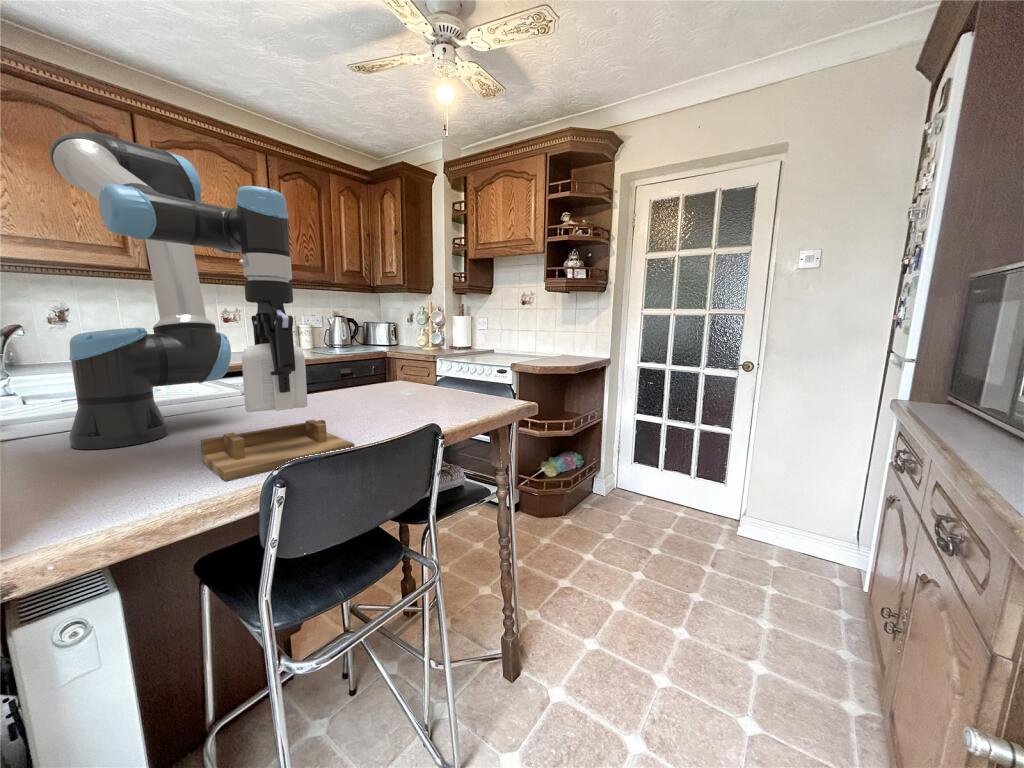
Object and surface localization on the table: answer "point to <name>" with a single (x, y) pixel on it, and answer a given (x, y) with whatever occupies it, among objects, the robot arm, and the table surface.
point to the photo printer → (270, 378)
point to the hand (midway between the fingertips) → (278, 407)
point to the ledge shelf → (267, 448)
